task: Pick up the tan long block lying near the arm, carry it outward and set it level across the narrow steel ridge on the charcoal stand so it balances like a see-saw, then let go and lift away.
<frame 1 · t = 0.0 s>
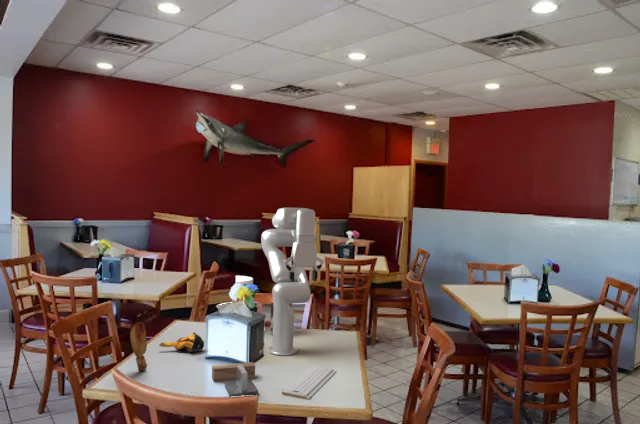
hand: (303, 280, 208), 37 cm above the table, tool pointing down, fingers open, 9 cm apart
cylinder: (233, 333, 258), on the table
ridge stand: (241, 390, 184), on the table
fried shrimp in bowl: (182, 352, 226), on the table
baseboard molding: (312, 384, 195), on the table
coffee box: (279, 334, 259), on the table
crab claw: (139, 371, 199), on the table
tan long block: (233, 378, 197), on the table
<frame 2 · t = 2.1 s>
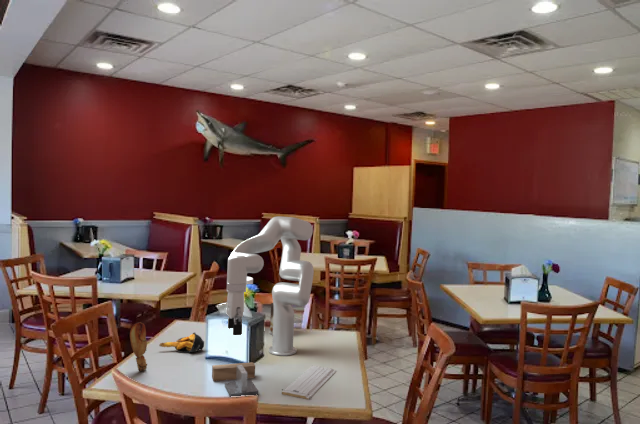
hand: (234, 331, 196), 18 cm above the table, tool pointing down, fingers open, 9 cm apart
nothing on the table moved.
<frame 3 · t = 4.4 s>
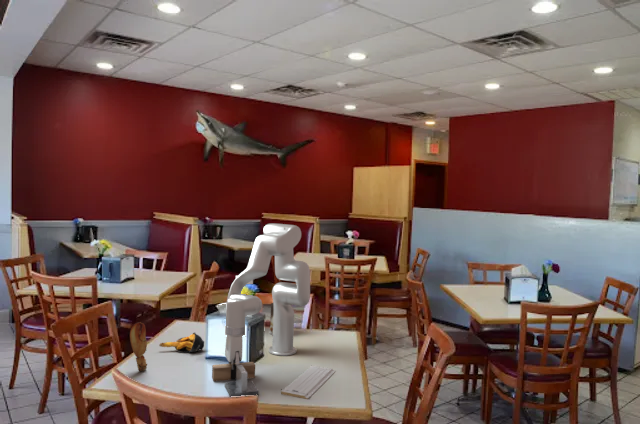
hand: (233, 376, 197), 0 cm above the table, tool pointing down, fingers closed on tan long block, 4 cm apart
tan long block: (233, 377, 197), on the table, touching gripper
everything else where it was.
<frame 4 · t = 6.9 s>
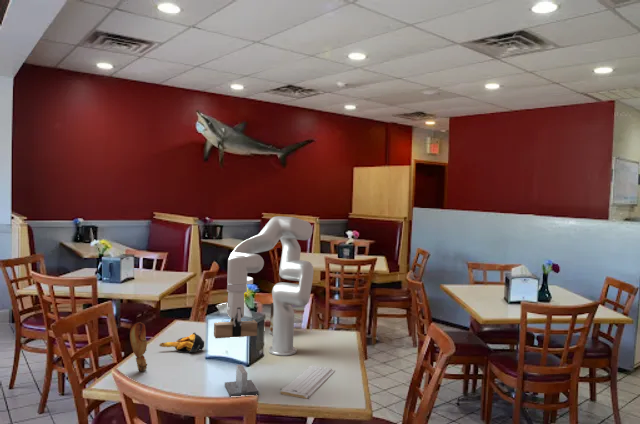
hand: (235, 334, 196), 17 cm above the table, tool pointing down, fingers closed on tan long block, 4 cm apart
tan long block: (235, 335, 196), point 17 cm above the table, touching gripper
everything else where it was.
when the fingers open (10 cm above the table, at t = 9.4 s): tan long block drops 1 cm, resting on ridge stand.
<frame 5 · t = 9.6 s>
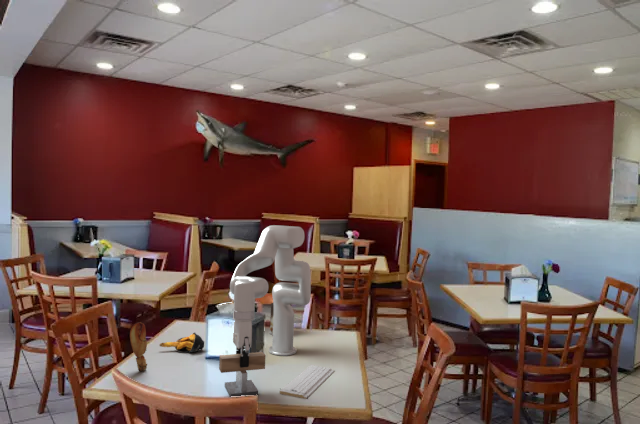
hand: (242, 363, 184), 10 cm above the table, tool pointing down, fingers open, 5 cm apart
tan long block: (242, 368, 184), point 8 cm above the table, touching ridge stand
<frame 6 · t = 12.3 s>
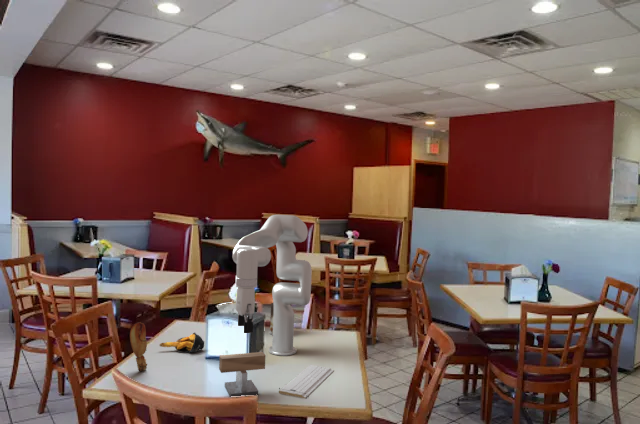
hand: (245, 329, 185), 22 cm above the table, tool pointing down, fingers open, 9 cm apart
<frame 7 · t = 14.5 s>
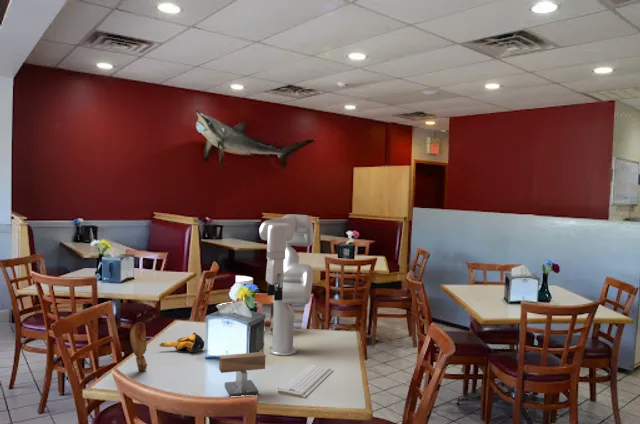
hand: (274, 297, 204), 30 cm above the table, tool pointing down, fingers open, 9 cm apart
at the end: tan long block 0.1 cm off-centre on the ridge stand, point 8.0 cm above the ridge stand's base; tan long block tilted 0°; tan long block touching ridge stand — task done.
